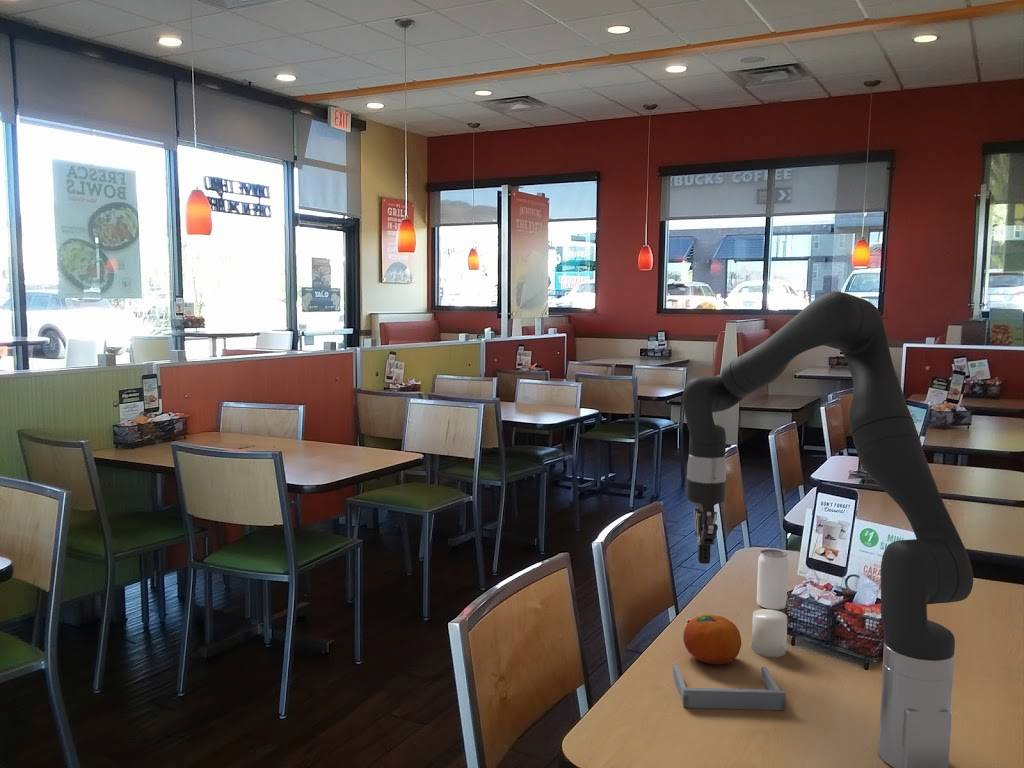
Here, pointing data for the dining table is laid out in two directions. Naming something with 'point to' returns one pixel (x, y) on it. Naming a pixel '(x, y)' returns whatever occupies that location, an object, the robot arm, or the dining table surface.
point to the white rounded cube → (769, 633)
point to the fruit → (712, 639)
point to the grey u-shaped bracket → (732, 695)
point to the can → (772, 579)
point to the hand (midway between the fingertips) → (703, 562)
